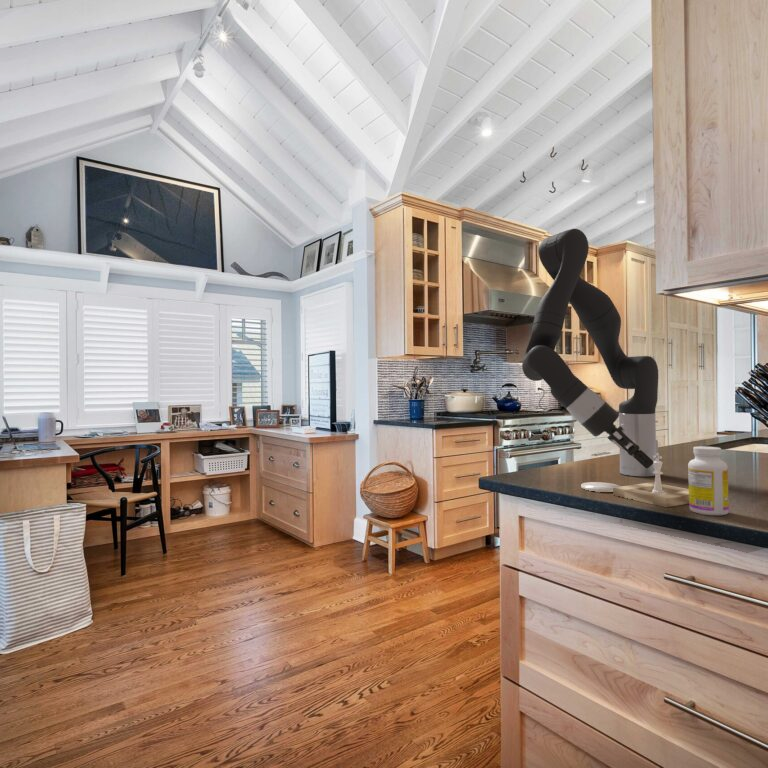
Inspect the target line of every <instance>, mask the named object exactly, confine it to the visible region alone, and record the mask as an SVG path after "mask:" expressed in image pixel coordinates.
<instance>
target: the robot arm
mask: <svg viewBox="0 0 768 768" xmlns="http://www.w3.org/2000/svg"><path fill="white" fill-rule="evenodd" d="M589 249H590V247H589V241H588V238H587V236H586V234H585V233H584V232H583V231H582V230H580V229H578V228H571V229H566V230H563V231H562V232H559V233H555V234H554V235H551V236H548V237H546V238H544V239H542V240H541V241H540V242H539V245H538V248H537V252H538V258H539V261H540V262H541V264H542V267H544V269H545V271H546V273H548V275H549V276H550V277H551V279H552V280H553V282H552V284H551V285H550V286H549V288H548V289H547V290H546V292H545V294H544V295H543V296H542V298H541V299H540V301H539V302H538V305H537V308H536V310H535V314H534V318H533V323H532V328H531V333H530V337H529V341H528V343H527V346H526V348H525V349H526V350H525V351H524V352H525V353H524V355H523V359H522V362H521V363H522V364H521V369H522V372H523V374H524V376H525V377H526V378H527V379H529V380H531V381H532V382H533V381H534V382H535V381H536V382H537V381H538V382H539V381H542V380H543V381H544V383H546V384H547V385H548V386H549V388H550V394H551V396H553V398H554V399H555V400H556V401H557V402H558V403H559V404H560V405H562V406H563V407H564V409H566V411H568V413H569V414H570V415H571V416H572V417H573V418H574V419H575V420H576V421H577V422H578V423H579V424H580V425H582V427H584V428H585V429H586V431H588V432H589V433H590V434H591V435H592V436H593V437H598V436H600V435H601V434H603V433H604V432H605V433H606V434H607V435H608V436H607V437H606V438H607V439H608V440H609V441H610V442H611V443H612V444H614V445H616V446H617V447H618V448H619V474H621V475H624V476H631V477H654V476H655V474H653V471H655V468H654V465H653V463H654V462H653V461H656V458H653V456H656V453H659V442H658V440H657V436H656V435H657V430H656V429H657V424H656V422H657V421H656V408H657V404H658V399H659V398H658V394H659V367H658V364H657V363H658V362H656V360H655V358H653V357H652V356H648V355H637V356H627V355H626V354H625V352H624V351H623V349H622V347H621V345H620V342H619V341H620V340H619V339H620V334H621V328H622V327H621V326H622V319H621V315H620V312H619V311H618V309H617V307H616V305H615V304H614V302H613V301H612V299H611V298H610V296H609V295H608V294H607V293H605V292H604V291H603V290H601V289H600V288H599V287H596V286H595V285H593V284H592V283H590V282H588V281H586V280H585V279H583V278H582V277H581V274H582V271H583V268H584V266H585V264H586V261H587V258H588V254H589ZM569 304H570V305H571V307H572V309H573V310H574V312H575V313H576V315H577V317H578V319H579V321H580V323H581V324H582V325H583V327H584V329H585V331H586V332H587V333H588V335H589V336H590V338H591V340H592V341H593V343H594V344H595V347H596V348H597V351H598V352H599V354H600V356H601V358H602V361H603V362H604V365H605V366H606V369H607V371H608V373H609V376H610V377H611V379H612V381H613V382H614V384H615V385H616V386H617V387H618V388H620V389H625V390H634V392H633V395H632V396H631V397H630V398H629V399H627V400H624V401H622V402H619V404H618V412H617V410H616V409H614V408H613V407H612V406H611V405H610V404H609V403H608V402H606V400H604V399H603V398H602V397H601V396H600V395H599V394H598V393H596V392H595V391H593V390H592V389H591V388H589V386H587V385H586V384H585V383H584V382H583V381H582V380H580V379H579V378H578V377H577V376H576V375H575V374H574V373H573V372H572V370H571V368H570V367H569V366H568V364H567V363H566V362H565V361H564V359H563V358H562V357H561V355H560V354H559V353H558V352H557V351H555V350H556V346H557V343H559V341H560V338H561V335H562V333H563V328H564V324H565V318H566V314H567V309H568V306H569ZM617 420H618V425H619V426H618V427H617V426H616V425H615V424H614V423H615V422H616V421H617Z"/></svg>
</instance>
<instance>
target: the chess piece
mask: <svg viewBox="0 0 768 768" xmlns="http://www.w3.org/2000/svg"><path fill="white" fill-rule="evenodd" d="M653 458H656V461H653V462H654V463H653V465H654V468H655V471H653V474H655V477H654V483H655V484H654V490H652V491H653V493H658V494H666V493H663V492H664V491H663V490H662V485H661V484H662V480H661V475H664V473H663V471H661V469H662V466H663V464H664V463H663V461H660V460H661V459H663V456H661V455H660V453H659V452H658V453H656V456H653Z"/></svg>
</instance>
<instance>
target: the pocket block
mask: <svg viewBox="0 0 768 768" xmlns="http://www.w3.org/2000/svg"><path fill="white" fill-rule="evenodd" d="M654 484H655V482H653V481H650V482H643V483H638V484H636V483H635V484H630V485H623V486H621V485H620V486H621V487H614V488H613V493H612V495H615V496H614V497H618V496H620V497H619V498H622V497H624V498H623V499H627V498H628V500H631V499H633V500H632V501H636V502H640V503H645V504H649V505H654V506H659V507H663V508H670V507H677V506H682V505H688V504H689V488H684V487H679V486H674V485H668V484H662V483H661V485H662V490H663V491H664V492H663V493H666V494H658V493H653V491H652V490H654Z"/></svg>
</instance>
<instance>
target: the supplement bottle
mask: <svg viewBox="0 0 768 768" xmlns="http://www.w3.org/2000/svg"><path fill="white" fill-rule="evenodd" d="M692 452H693V454H694V459H693V458H692V459H691V460H689V462H688V464H687V466H688V468H687V469H688V470H687V471H688V472H687V473H688V476H687V477H688V489H689V503H688V504H689V506H688V507H689V510H690V511H691V512H693V513H696V514H699V515H705V516H712V517H713V516H718V517H719V516H726V515H727V514H729V512H730V511H729V510H730V504H729V502H730V501H729V499H730V498H729V473H728V472H729V470H728V469H729V467H728V464H727V463H726V462H725V461H724V460H722V459H721V456H722V448H721V447H719V446H718V447H717V446H702V445H701V446H693V451H692Z"/></svg>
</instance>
